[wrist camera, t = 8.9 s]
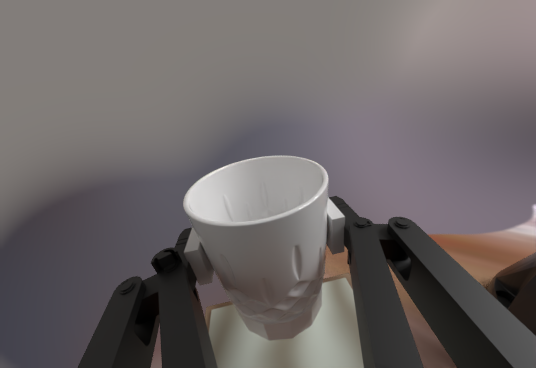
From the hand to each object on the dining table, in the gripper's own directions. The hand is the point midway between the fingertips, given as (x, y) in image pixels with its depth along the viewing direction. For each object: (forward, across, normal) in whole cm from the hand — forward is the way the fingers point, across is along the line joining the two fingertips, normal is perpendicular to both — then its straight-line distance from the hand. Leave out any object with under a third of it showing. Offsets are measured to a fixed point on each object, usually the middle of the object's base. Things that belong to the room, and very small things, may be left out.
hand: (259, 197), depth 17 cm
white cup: (-5, 0, -6) cm, 8 cm away
